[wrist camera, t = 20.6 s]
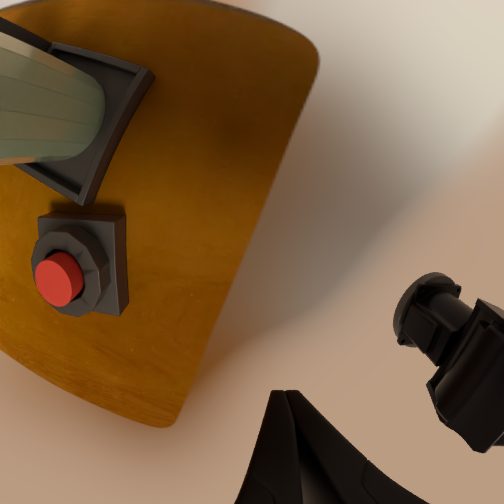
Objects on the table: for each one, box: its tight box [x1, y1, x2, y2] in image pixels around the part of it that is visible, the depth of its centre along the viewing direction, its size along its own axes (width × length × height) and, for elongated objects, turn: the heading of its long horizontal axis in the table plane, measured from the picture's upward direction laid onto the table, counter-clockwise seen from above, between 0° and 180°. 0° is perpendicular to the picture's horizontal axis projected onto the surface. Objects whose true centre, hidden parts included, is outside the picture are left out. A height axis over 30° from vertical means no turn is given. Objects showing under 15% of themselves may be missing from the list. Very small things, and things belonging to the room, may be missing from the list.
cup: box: [0, 31, 105, 165], centre depth 9 cm, size 7×7×12 cm
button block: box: [31, 212, 129, 317], centre depth 17 cm, size 7×7×4 cm
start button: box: [35, 252, 84, 307], centre depth 15 cm, size 3×3×2 cm
